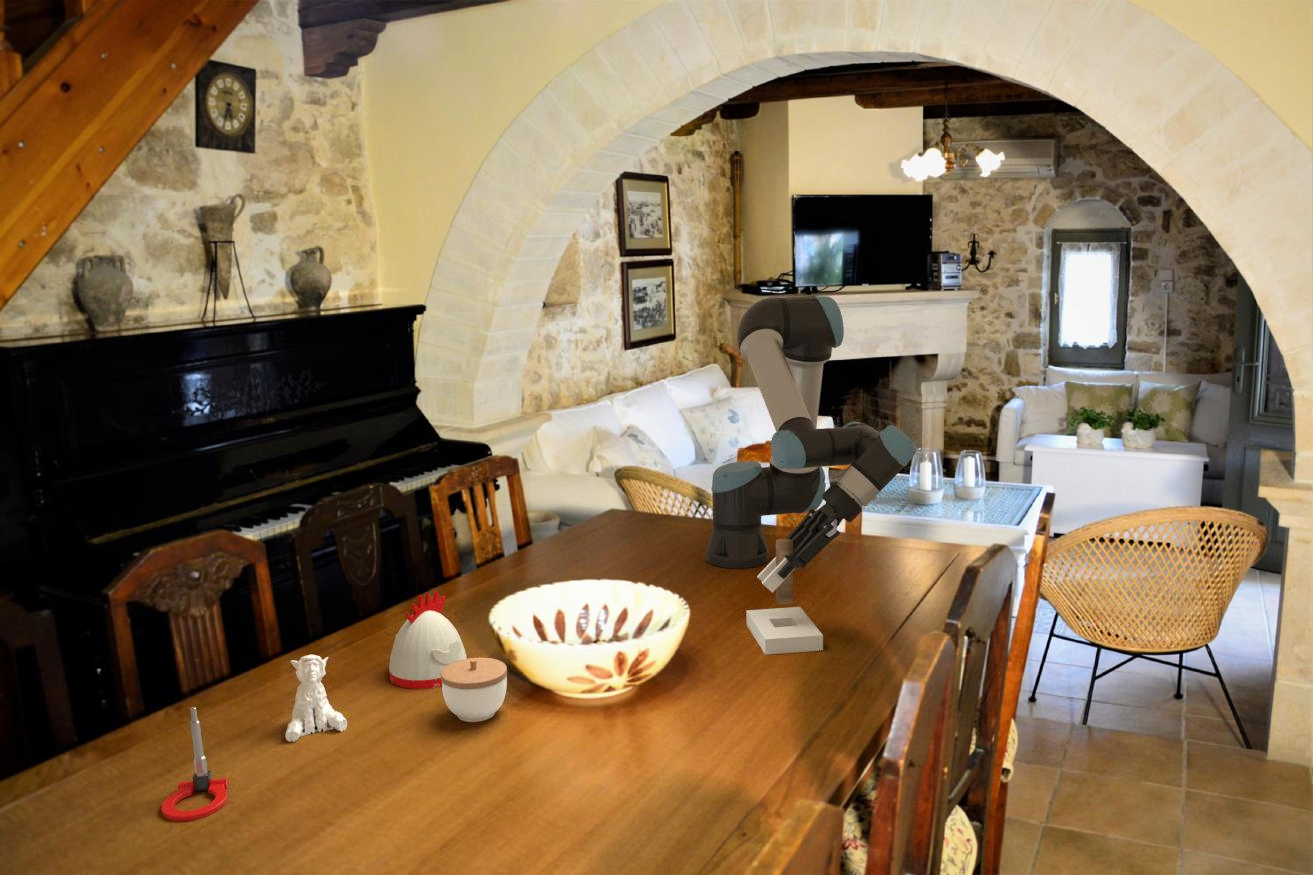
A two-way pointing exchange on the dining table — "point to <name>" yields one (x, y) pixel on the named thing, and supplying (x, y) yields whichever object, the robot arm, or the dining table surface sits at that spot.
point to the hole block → (784, 630)
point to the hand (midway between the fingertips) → (764, 584)
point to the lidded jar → (474, 687)
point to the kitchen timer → (424, 646)
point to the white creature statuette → (312, 701)
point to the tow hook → (196, 783)
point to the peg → (786, 587)
